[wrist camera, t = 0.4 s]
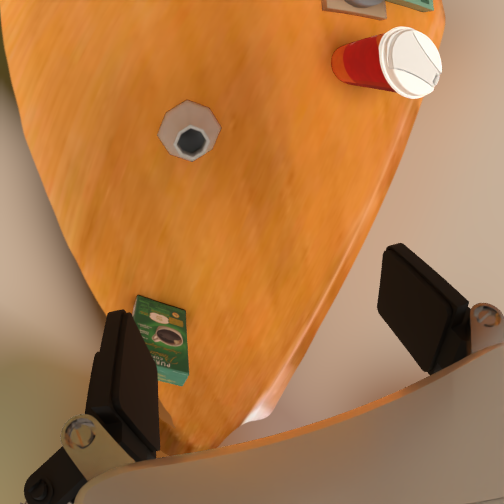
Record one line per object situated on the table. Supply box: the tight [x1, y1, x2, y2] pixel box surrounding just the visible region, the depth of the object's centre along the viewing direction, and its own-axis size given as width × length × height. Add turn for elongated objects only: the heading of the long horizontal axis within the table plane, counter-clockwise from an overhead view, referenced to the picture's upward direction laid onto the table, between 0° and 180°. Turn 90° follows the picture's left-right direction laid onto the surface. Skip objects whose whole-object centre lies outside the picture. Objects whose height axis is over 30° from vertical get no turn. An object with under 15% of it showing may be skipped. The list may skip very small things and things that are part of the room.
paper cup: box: [331, 26, 442, 99], centre depth 29 cm, size 8×8×14 cm
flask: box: [157, 100, 221, 162], centre depth 31 cm, size 7×7×10 cm
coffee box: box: [132, 295, 189, 386], centre depth 40 cm, size 8×3×13 cm, turn 61°
